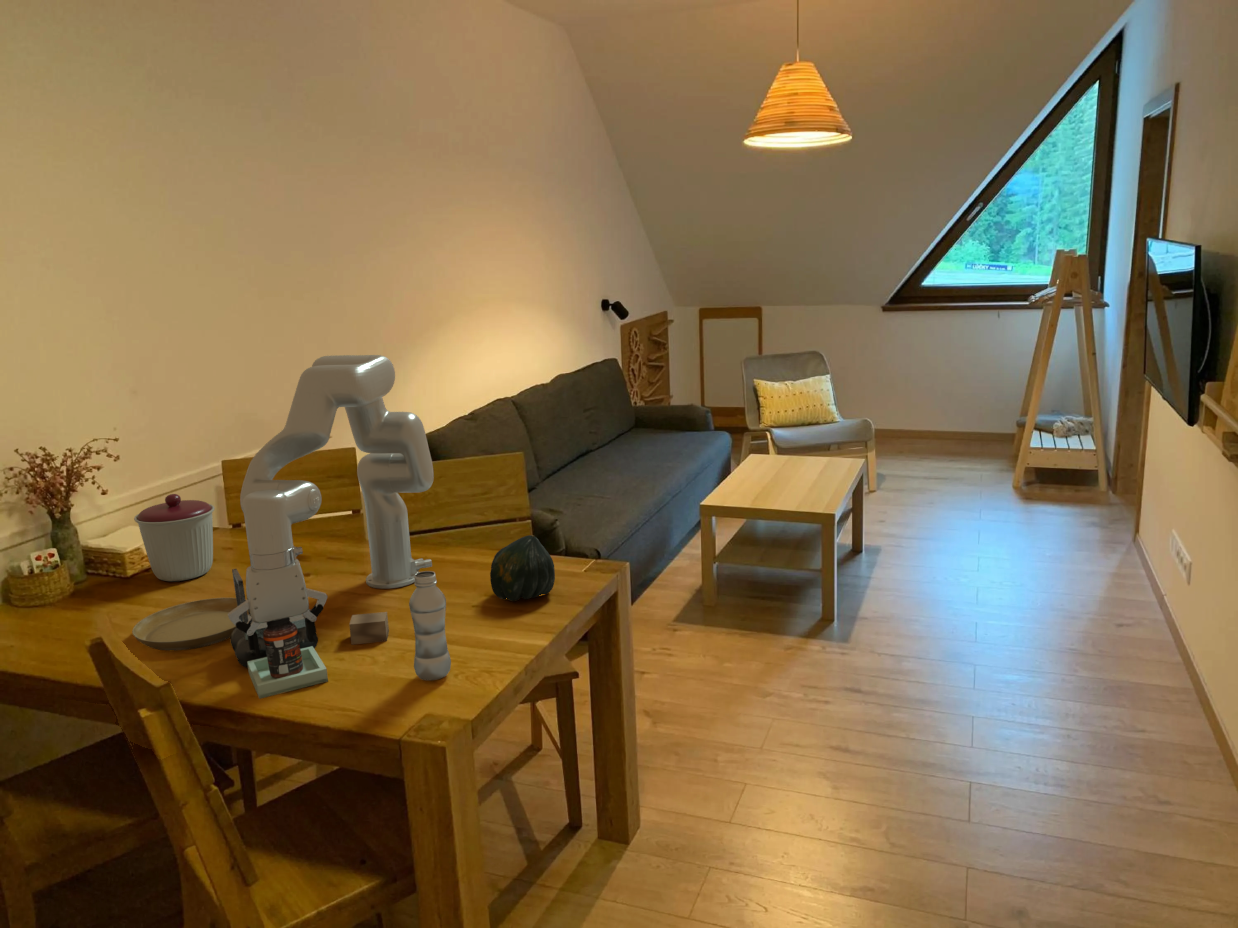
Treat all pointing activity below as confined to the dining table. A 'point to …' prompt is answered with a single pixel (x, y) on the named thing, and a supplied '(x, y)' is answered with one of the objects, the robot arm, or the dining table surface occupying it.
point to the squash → (522, 570)
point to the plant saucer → (187, 625)
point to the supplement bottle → (282, 648)
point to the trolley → (259, 630)
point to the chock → (369, 628)
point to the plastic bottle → (429, 628)
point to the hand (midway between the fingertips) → (283, 646)
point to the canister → (178, 538)
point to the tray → (271, 686)
